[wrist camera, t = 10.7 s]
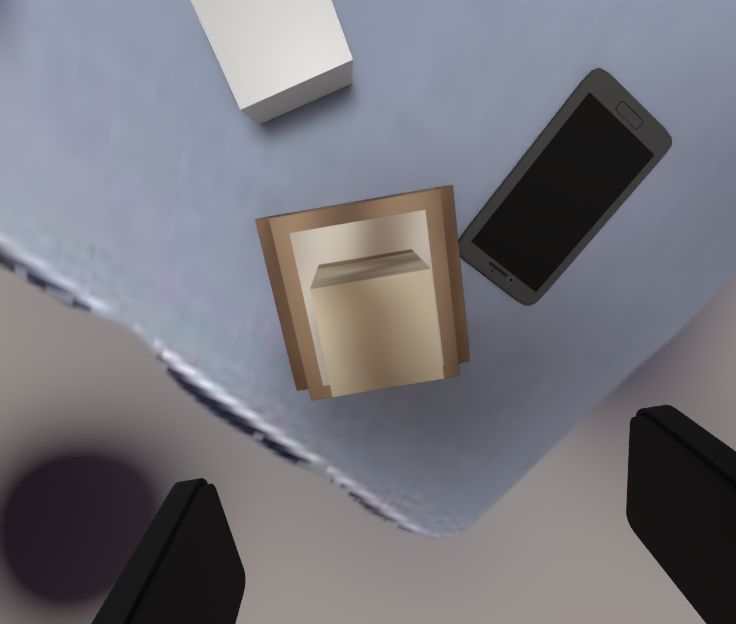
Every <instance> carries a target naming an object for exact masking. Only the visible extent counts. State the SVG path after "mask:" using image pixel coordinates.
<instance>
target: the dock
mask: <svg viewBox="0 0 736 624" xmlns="http://www.w3.org/2000/svg"><path fill="white" fill-rule="evenodd" d="M255 221H256V226H257V230H258V234H259V238H260V242H261V246H262V250H263V254H264V258H265V262H266V266H267V271H268V275H269V279H270V283H271V287H272V291H273V295H274V299H275V303H276V307H277V312H278V316H279V320H280V324H281V328H282V332H283V336H284V340H285V344H286V348H287V352H288V357H289V361H290V365H291V369H292V373H293V377H294V381H295V385H296V389H297V391H299V390H305V389H309V393H310V397H311V401H313V400H319V399H325V398H331V397H332V392H331V387H330V383H329V378H328V373H327V368H326V364H325V359H324V354H323V350H322V345H321V340H320V335H319V331H318V326H317V321H316V316H315V312H314V307H313V302H312V298H311V293H310V287H311V285H312V282H313V279H314V277H315V274H316V271H317V268H318V266H319V265H321V264H327V263H333V262H339V261H345V260H350V259H356V258H362V257H368V256H374V255H380V254H386V253H392V252H398V251H404V250H410V249H412V250H413V251H414V252H415V253H416V254H417V255H418V256H419V257H420V258H421V259H422V260H423V261H424V262H425V263H426V264H427V265H428V266H429V267H430V268H431V272H432V281H433V289H434V298H435V306H436V315H437V324H438V332H439V341H440V349H441V358H442V366H443V375H444V378H448V377H453V376H459V375H460V372H459V363H462V362H468V361H470V356H469V346H468V336H467V326H466V316H465V305H464V295H463V285H462V275H461V264H460V254H459V244H458V234H457V223H456V213H455V203H454V193H453V185H448V186H442V187H437V188H431V189H425V190H419V191H414V192H408V193H402V194H396V195H390V196H385V197H379V198H373V199H367V200H362V201H356V202H350V203H344V204H339V205H333V206H327V207H321V208H315V209H310V210H304V211H298V212H292V213H287V214H281V215H275V216H269V217H264V218H259V219H256V220H255Z"/></svg>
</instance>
